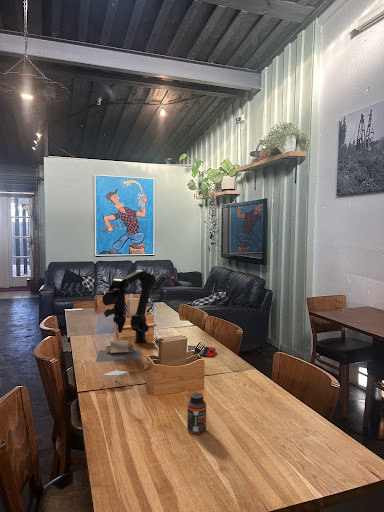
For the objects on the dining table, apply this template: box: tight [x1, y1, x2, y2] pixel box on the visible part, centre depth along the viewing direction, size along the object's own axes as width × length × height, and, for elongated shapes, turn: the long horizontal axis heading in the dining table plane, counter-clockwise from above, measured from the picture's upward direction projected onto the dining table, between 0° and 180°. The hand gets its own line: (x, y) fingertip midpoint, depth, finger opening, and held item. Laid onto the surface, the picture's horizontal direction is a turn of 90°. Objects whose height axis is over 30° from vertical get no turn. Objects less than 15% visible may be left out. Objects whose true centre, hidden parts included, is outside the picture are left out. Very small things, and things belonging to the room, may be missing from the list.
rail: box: [105, 342, 134, 353], centre depth 194 cm, size 3×14×4 cm, turn 99°
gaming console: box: [187, 345, 216, 358], centre depth 193 cm, size 29×4×10 cm
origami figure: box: [98, 369, 132, 387], centre depth 152 cm, size 12×8×5 cm
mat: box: [95, 348, 142, 363], centre depth 188 cm, size 18×22×1 cm
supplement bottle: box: [186, 392, 207, 435], centre depth 116 cm, size 6×6×11 cm
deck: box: [110, 340, 129, 354], centre depth 191 cm, size 6×9×2 cm
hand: (120, 331), depth 198 cm, fingers open, 7 cm apart
